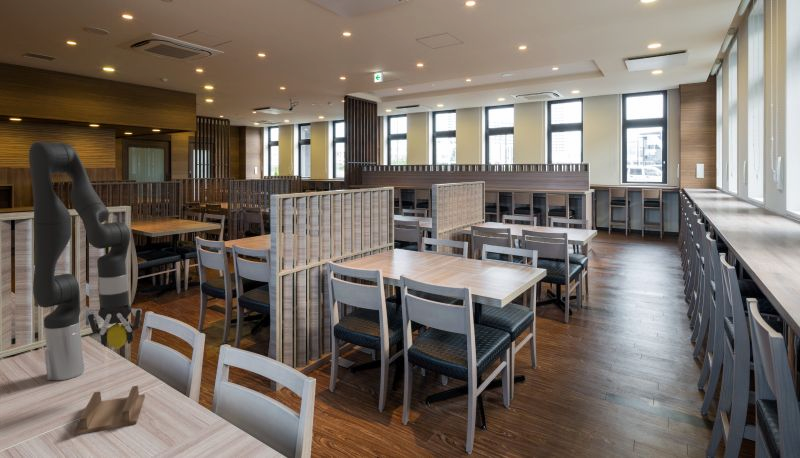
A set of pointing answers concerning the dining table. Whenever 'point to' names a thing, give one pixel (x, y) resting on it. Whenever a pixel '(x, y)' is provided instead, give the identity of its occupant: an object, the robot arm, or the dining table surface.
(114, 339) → the lemon
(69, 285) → the robot arm
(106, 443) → the dining table surface
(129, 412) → the cradle
